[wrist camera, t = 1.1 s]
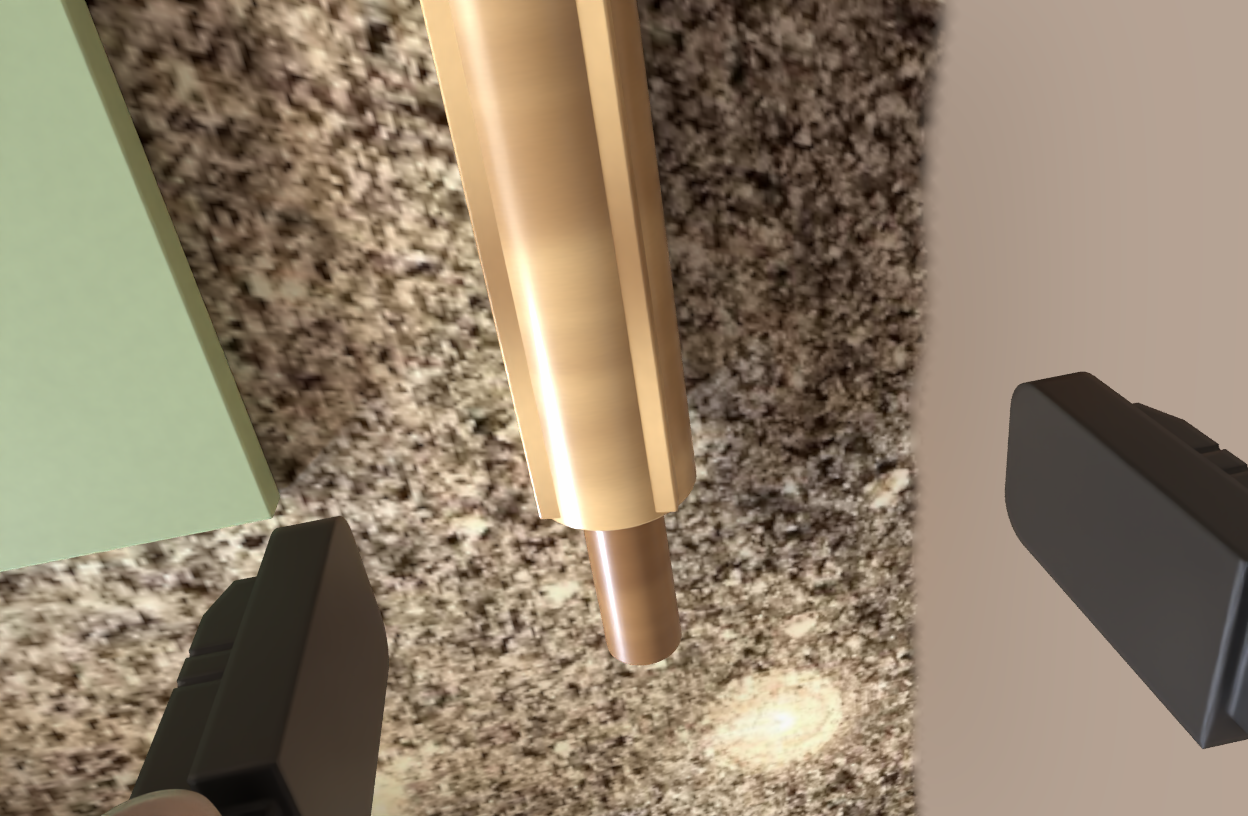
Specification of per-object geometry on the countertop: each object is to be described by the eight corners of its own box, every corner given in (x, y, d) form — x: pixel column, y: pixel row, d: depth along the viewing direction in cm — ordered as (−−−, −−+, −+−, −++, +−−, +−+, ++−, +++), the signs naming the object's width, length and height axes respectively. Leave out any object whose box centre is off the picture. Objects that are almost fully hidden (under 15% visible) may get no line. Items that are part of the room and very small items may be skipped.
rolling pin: (351, -496, 18) (244, -601, 14) (578, -552, 17) (533, -678, 13) (583, 592, 32) (562, 695, 28) (717, 587, 31) (715, 691, 27)
